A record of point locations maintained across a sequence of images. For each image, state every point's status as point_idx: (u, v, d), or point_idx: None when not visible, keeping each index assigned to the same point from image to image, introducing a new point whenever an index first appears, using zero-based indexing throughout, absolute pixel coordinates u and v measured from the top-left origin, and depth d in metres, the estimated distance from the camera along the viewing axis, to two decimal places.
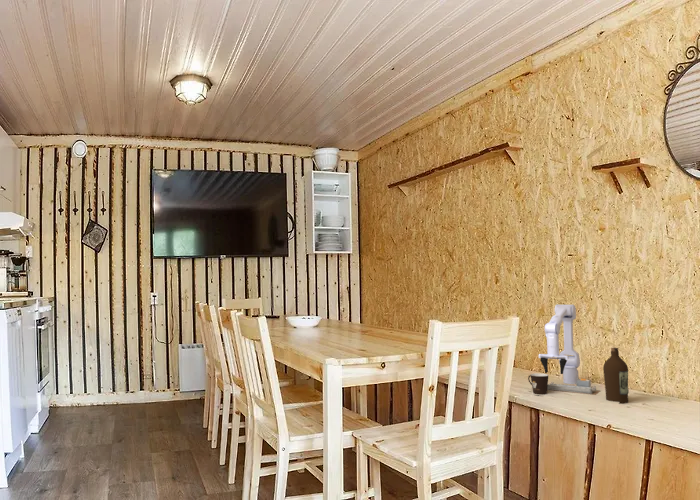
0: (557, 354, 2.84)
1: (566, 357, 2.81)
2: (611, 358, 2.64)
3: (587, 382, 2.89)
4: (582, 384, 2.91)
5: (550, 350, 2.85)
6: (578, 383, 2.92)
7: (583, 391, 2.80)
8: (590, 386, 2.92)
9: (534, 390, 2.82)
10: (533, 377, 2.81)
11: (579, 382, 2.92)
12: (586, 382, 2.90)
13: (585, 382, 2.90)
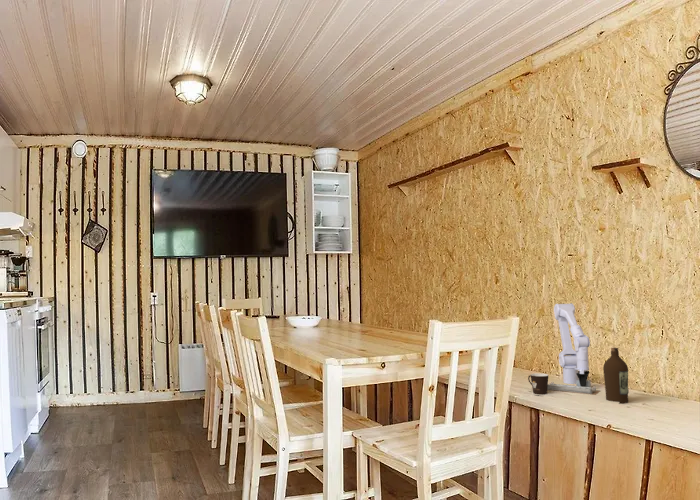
0: (579, 367, 2.91)
1: (579, 371, 2.87)
2: (611, 358, 2.64)
3: (587, 382, 2.89)
4: None
5: None
6: (578, 383, 2.92)
7: (583, 391, 2.80)
8: (590, 386, 2.92)
9: (534, 390, 2.82)
10: (533, 377, 2.81)
11: (579, 382, 2.92)
12: (586, 382, 2.90)
13: None
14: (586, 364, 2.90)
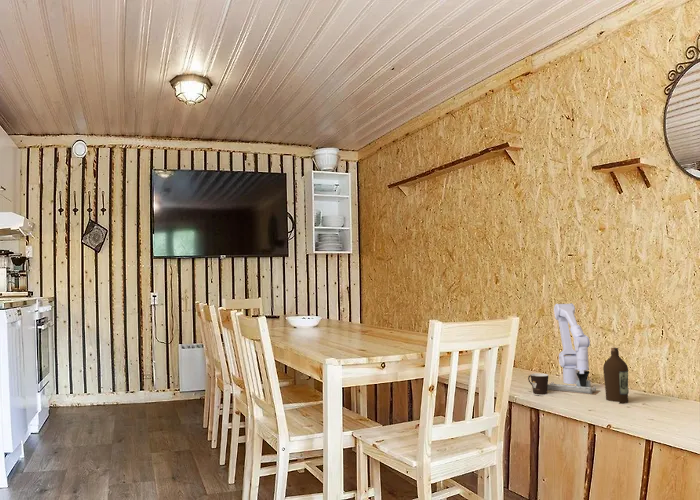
0: (579, 367, 2.91)
1: (579, 371, 2.87)
2: (611, 358, 2.64)
3: (587, 382, 2.89)
4: None
5: None
6: (578, 383, 2.92)
7: (583, 391, 2.80)
8: (590, 386, 2.92)
9: (534, 390, 2.82)
10: (533, 377, 2.81)
11: (579, 382, 2.92)
12: (586, 382, 2.89)
13: None
14: (586, 364, 2.90)
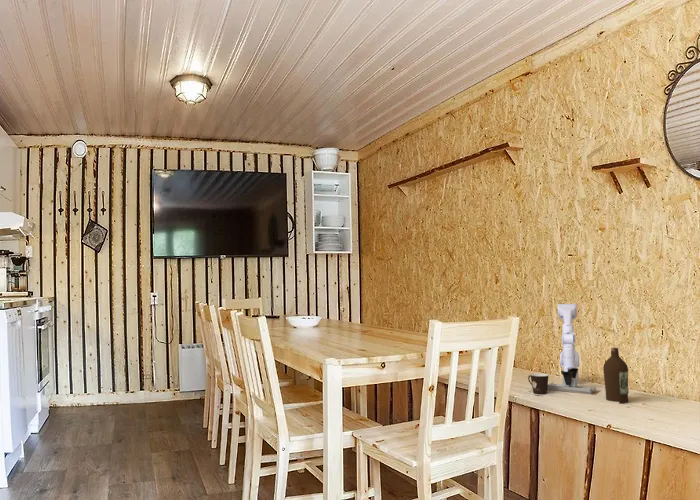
0: (565, 365, 2.86)
1: None
2: (611, 358, 2.64)
3: (573, 380, 2.84)
4: None
5: None
6: (564, 382, 2.87)
7: (583, 391, 2.80)
8: (576, 385, 2.87)
9: (534, 390, 2.82)
10: (533, 377, 2.81)
11: None
12: (572, 380, 2.85)
13: (571, 380, 2.85)
14: (572, 362, 2.85)
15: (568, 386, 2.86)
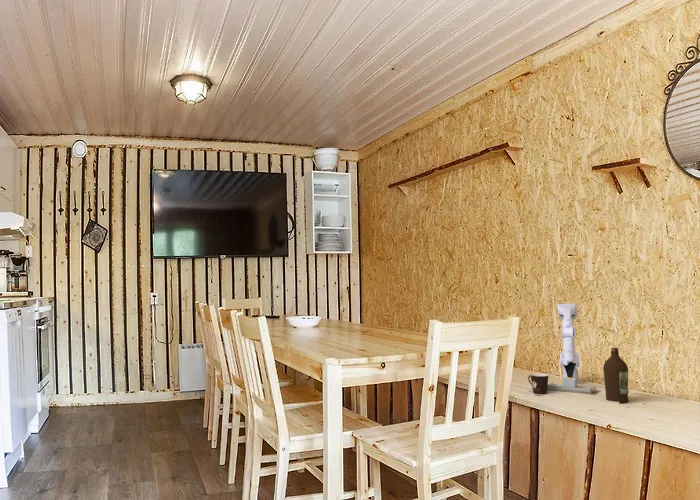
0: (565, 358, 2.87)
1: None
2: (611, 358, 2.64)
3: (573, 381, 2.84)
4: (568, 383, 2.86)
5: None
6: (564, 382, 2.87)
7: (583, 391, 2.80)
8: (576, 385, 2.87)
9: (534, 390, 2.82)
10: (533, 377, 2.81)
11: (565, 381, 2.87)
12: (572, 380, 2.85)
13: (571, 381, 2.85)
14: (572, 355, 2.85)
15: (568, 386, 2.86)
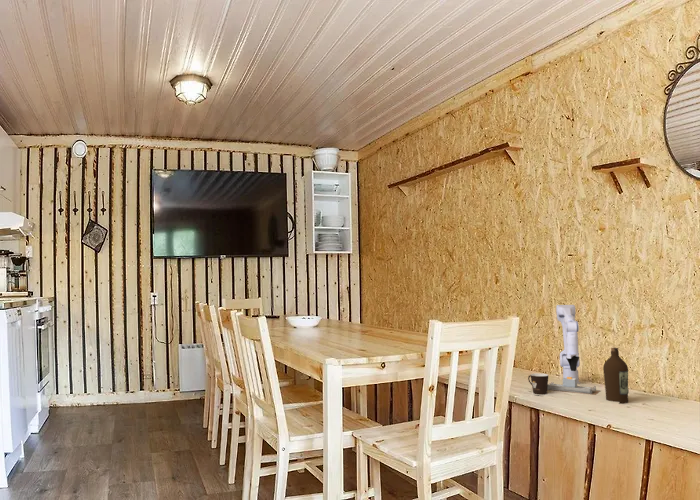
0: (568, 352, 2.92)
1: None
2: (611, 358, 2.64)
3: (573, 380, 2.84)
4: (568, 383, 2.86)
5: None
6: (564, 382, 2.87)
7: (583, 391, 2.80)
8: (576, 385, 2.87)
9: (534, 390, 2.82)
10: (533, 377, 2.81)
11: (565, 380, 2.87)
12: (572, 380, 2.85)
13: (571, 380, 2.85)
14: (575, 349, 2.90)
15: (568, 386, 2.86)
